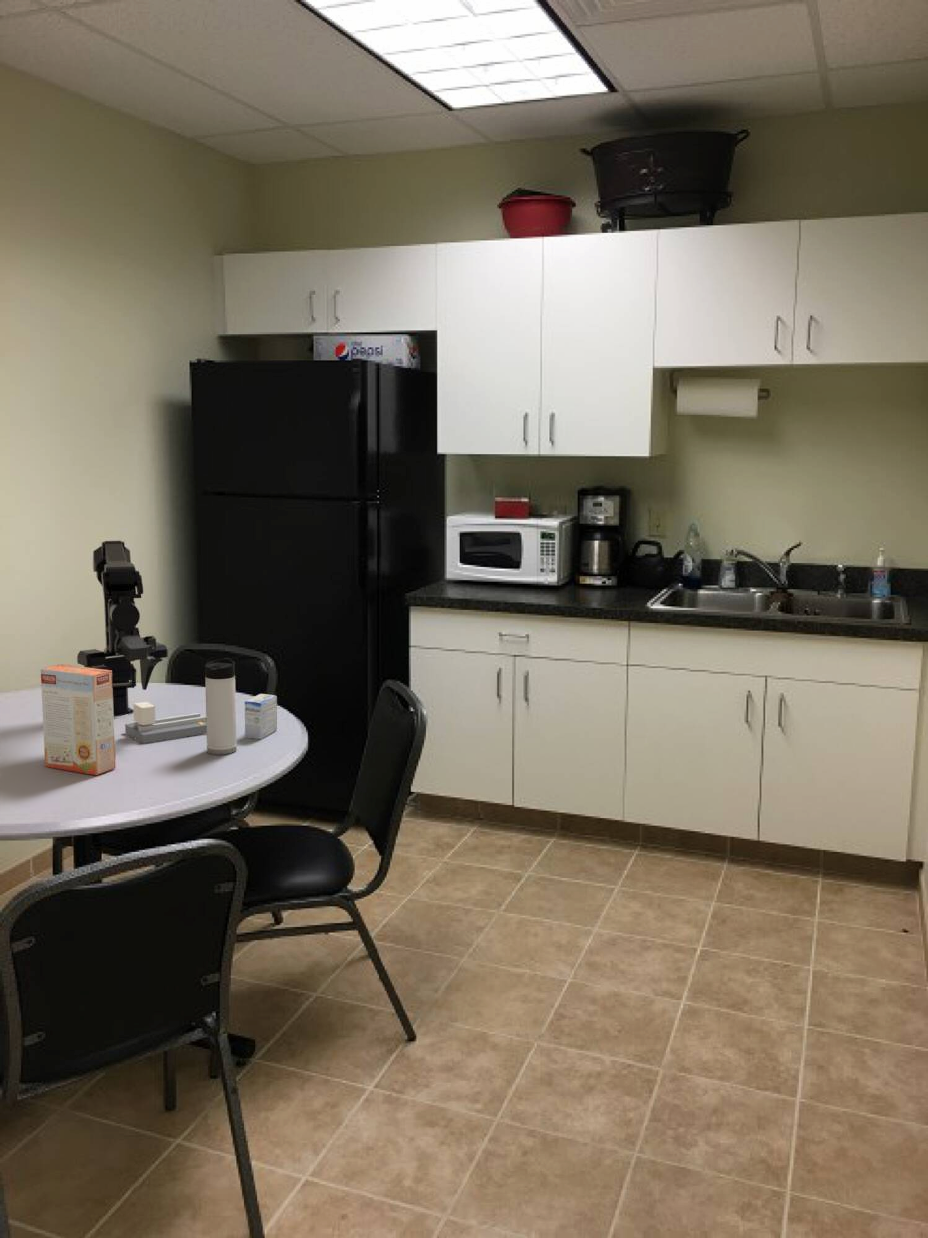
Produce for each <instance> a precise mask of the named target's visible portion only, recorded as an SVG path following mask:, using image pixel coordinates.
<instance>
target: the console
mask: <svg viewBox="0 0 928 1238" xmlns="http://www.w3.org/2000/svg"><path fill="white" fill-rule="evenodd" d="M124 727H125V729H124V730H125V731H124V732H125V733H126V734H127V735H128V736H130V737H131V738H133V739H135V738H136V739H135V740H137V741H139V742H140V743H142V744H144V745H145V744H152V743H156V742H157V741H158V742H164V740H165V741H170V740H175V738H177V739H182V738H188V737H187V736H189V737H194V736H195V737H196V736H200V735H207V728H206V715H203V716H201V713H200V712H196V713H195V712H194V713H190V714H182V715H175V716H169V717H168V716H167V717H162V718H157V719H156V718H155V724H150V725H144V726H138V728H137V722H136V721H135V722H131V723H125V724H124ZM158 742H157V743H158Z"/></svg>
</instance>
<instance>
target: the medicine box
mask: <svg viewBox="0 0 928 1238" xmlns="http://www.w3.org/2000/svg"><path fill="white" fill-rule="evenodd" d="M277 730H278V697H277V695H275V694H266V693H259V694H257V695H255V696H253V697H252V698H250V699H247V700H246V701H244V738H246V739H252V738H254V740H263V739H264V738H266V737H268V736H269V735H272V734H273V733H275V732H277Z"/></svg>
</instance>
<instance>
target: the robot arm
mask: <svg viewBox="0 0 928 1238" xmlns="http://www.w3.org/2000/svg"><path fill="white" fill-rule="evenodd" d="M92 567H93V568H92V570H93V573H94V572H95V574H96V575H95V576H96V579H97V581H98V582H99V584H100V585H101V587H102V593H103V605H104V606H103V608H104V628H105V629H104V630H105V631H104V632H105V634H104V635H105V648H104V650H99V649H96V648H95V649H94V648H93V649H85V650H80V651H79V652H78V653H77V657H76V659H77V660H76V661H77V664H78V665H82V666H83V667H87V668H95V669H103V670H111V671H112V687H113V713H114V716H115V715H116V716H117V715H124V714H129V713H130V714H131V713H134V708H133V709H132V708H131V707H129V689H135V687H137V669H136V667H135V666H134V663H132V662H135V661H139V668H140V669H139V670H140V682H141V683H140V684H141V688H142V689H141V690H144V691H145V690H147V688H148V686H149V682H150V679H151V676H152V673H153V671H154V669H155V667H156V666H157V665H158V663H160V662H162V661H163V659H164V658H168V657H169V648H168V647H167V646H166V644H163V643H160V642H157V638H156V637H155V636H154V635H146V636H145V637H141V635H140V629H139V627H137V625H138V623H139V622H140V618H141V614H140V611H139V608H138V607H137V606H136V601H135V599H142V595H143V594H144V586H143V579H142V578H143V577H142V575H141V574H140V571H139V570H136V566H135V564H133V562H132V561H131V549H129V548H128V547H126V546H125V541H122V540H105V541H102V542H101V544H100V546H99V547H98V548H96V549H94V550H93V553H92Z"/></svg>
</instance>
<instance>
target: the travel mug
mask: <svg viewBox="0 0 928 1238" xmlns="http://www.w3.org/2000/svg"><path fill="white" fill-rule="evenodd" d="M204 666H205V667H204V668H205V669H204V670H205V672H204V673H205V677H204V678H205V681H204V682H205V713H206V714H205V716H206V728H207V734H206V751H207V753H209V754H211V755H216V756H223V755H231V754H233V753H234V752H236V751H237V712H236V711H237V710H236V708H237V706H236V702H237V701H236V700H237V699H236V673H235V671H236V669H235V668H236V667H235V661H234V660H232V658H226V657H224V658H223V657H222V659H215V660H211V661H208V662H207V663H206V664H205V665H204Z"/></svg>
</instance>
